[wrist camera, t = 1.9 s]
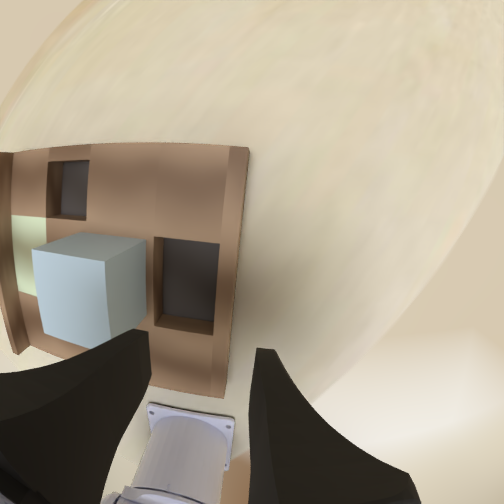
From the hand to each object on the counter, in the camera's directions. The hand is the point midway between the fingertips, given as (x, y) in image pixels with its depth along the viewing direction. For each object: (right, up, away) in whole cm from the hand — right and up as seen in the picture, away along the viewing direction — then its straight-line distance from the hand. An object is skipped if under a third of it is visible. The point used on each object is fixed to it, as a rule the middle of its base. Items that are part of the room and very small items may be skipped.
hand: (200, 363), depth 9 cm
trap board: (-8, +3, +9) cm, 13 cm away
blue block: (-7, +3, +7) cm, 11 cm away
